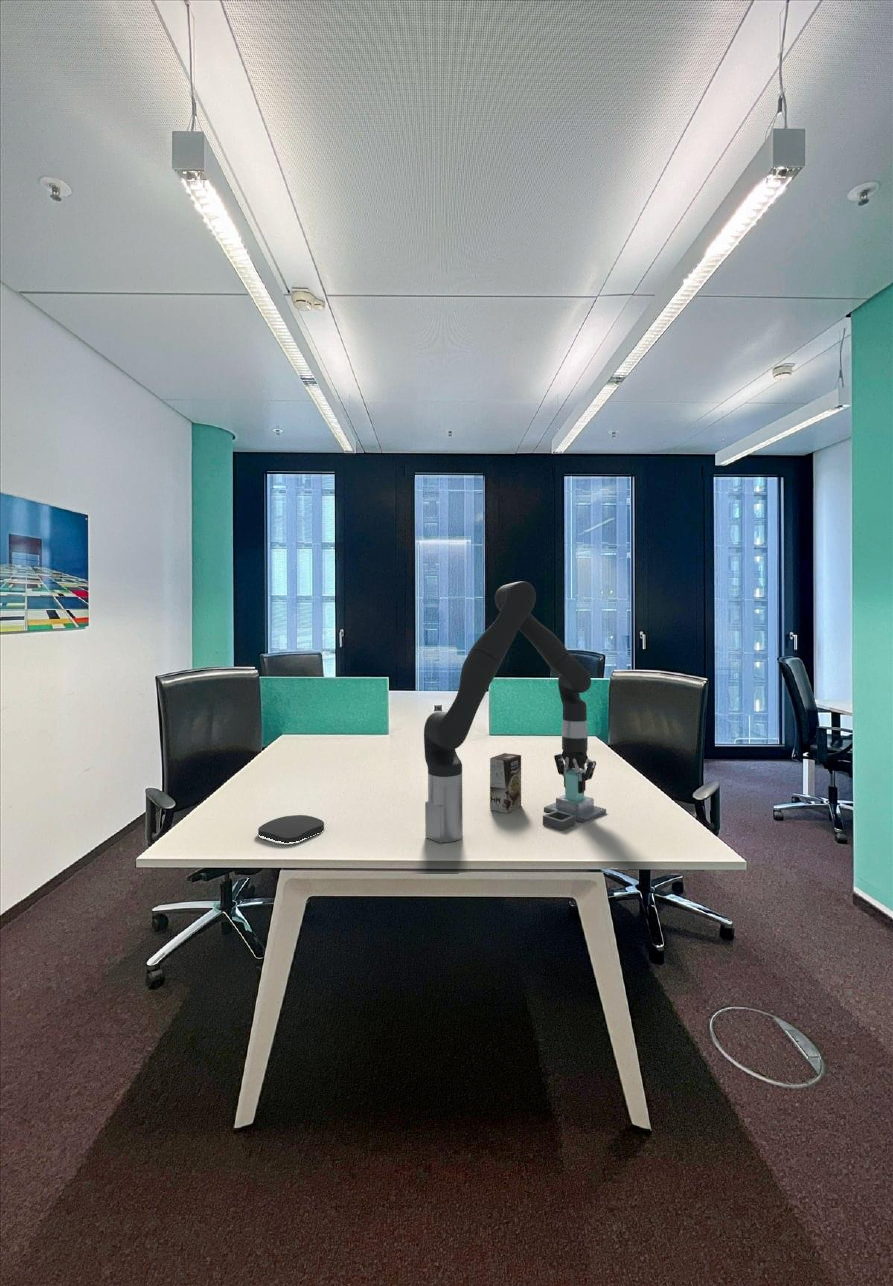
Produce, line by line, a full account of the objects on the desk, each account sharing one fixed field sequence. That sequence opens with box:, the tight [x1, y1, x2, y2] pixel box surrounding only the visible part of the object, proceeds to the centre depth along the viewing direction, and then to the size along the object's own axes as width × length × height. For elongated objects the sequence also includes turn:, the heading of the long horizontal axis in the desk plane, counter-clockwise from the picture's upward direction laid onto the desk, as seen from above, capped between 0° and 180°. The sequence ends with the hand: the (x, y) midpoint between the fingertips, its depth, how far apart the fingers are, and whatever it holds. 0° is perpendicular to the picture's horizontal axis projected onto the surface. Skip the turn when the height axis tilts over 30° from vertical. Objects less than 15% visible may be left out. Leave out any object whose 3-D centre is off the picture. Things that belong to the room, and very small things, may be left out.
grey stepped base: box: [543, 794, 607, 824], centre depth 163 cm, size 12×14×4 cm
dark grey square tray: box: [542, 810, 577, 832], centre depth 152 cm, size 7×7×2 cm
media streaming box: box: [257, 814, 325, 843], centre depth 148 cm, size 15×15×3 cm
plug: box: [564, 768, 585, 802], centre depth 162 cm, size 4×4×11 cm
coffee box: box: [489, 752, 522, 814], centre depth 167 cm, size 9×6×16 cm
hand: (574, 791), depth 162 cm, fingers closed on plug, 4 cm apart
